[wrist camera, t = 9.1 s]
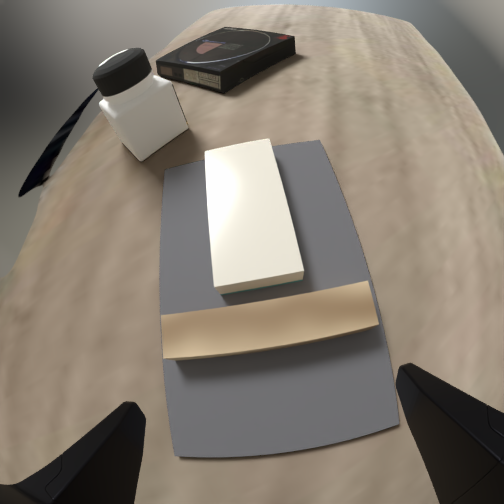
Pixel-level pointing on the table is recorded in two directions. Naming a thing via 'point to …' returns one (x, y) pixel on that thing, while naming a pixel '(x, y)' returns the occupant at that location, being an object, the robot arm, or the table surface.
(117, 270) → the table surface
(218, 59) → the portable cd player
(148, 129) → the medicine bottle
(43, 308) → the table surface
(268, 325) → the ledge
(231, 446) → the mat
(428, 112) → the table surface
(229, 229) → the tile
